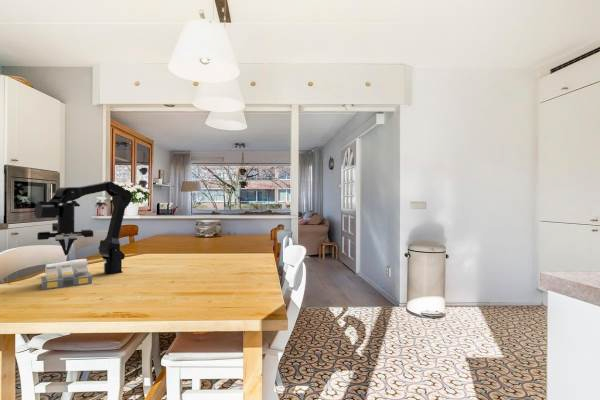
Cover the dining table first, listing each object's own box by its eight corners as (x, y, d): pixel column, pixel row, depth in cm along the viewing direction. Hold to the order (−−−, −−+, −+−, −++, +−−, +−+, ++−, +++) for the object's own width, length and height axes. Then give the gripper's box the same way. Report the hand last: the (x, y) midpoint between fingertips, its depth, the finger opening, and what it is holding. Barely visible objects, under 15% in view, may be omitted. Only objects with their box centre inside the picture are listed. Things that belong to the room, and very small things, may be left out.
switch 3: (85, 270, 143) (85, 267, 144) (88, 270, 137) (88, 267, 137) (75, 271, 141) (74, 268, 141) (77, 271, 134) (77, 268, 134)
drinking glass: (45, 279, 145) (86, 274, 151) (44, 263, 145) (85, 259, 151) (48, 277, 151) (87, 272, 157) (48, 261, 151) (87, 257, 157)
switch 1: (56, 269, 137) (56, 266, 137) (57, 278, 130) (57, 275, 130) (45, 270, 135) (45, 267, 135) (46, 279, 128) (46, 276, 128)
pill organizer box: (87, 278, 146) (87, 270, 146) (92, 283, 136) (92, 275, 136) (41, 283, 135) (41, 275, 135) (42, 290, 126) (42, 281, 126)
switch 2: (70, 267, 140) (71, 264, 140) (73, 276, 134) (73, 273, 133) (60, 268, 138) (60, 265, 138) (62, 277, 131) (62, 274, 131)
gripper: (89, 216, 151) (89, 250, 151) (36, 217, 139) (36, 255, 139) (93, 217, 142) (93, 254, 142) (37, 218, 130) (37, 258, 130)
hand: (66, 255), depth 139 cm, fingers closed
